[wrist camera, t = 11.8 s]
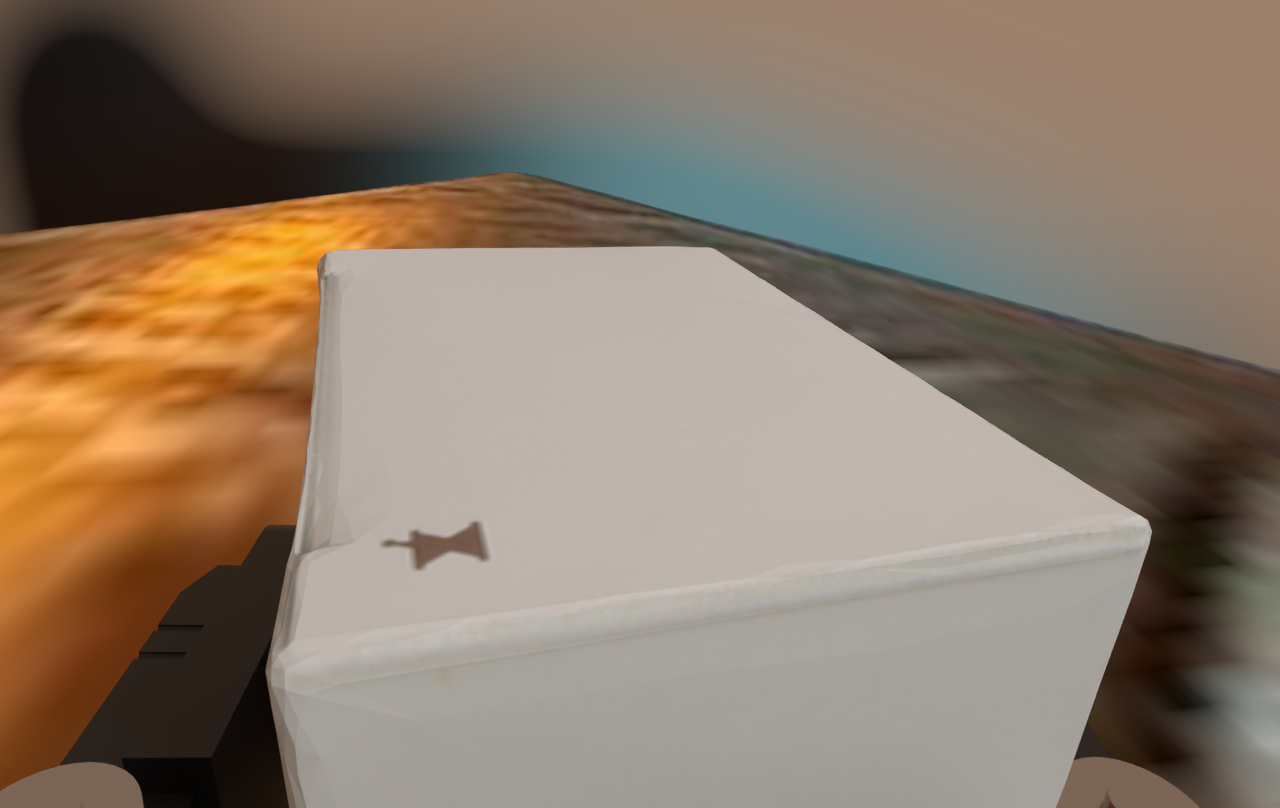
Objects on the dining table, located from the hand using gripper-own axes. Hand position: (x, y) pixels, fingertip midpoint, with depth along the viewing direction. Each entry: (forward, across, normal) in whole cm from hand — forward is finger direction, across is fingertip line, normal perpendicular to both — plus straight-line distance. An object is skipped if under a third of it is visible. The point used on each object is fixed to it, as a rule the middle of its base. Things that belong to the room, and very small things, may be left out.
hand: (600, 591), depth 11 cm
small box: (-1, 0, +7) cm, 7 cm away
